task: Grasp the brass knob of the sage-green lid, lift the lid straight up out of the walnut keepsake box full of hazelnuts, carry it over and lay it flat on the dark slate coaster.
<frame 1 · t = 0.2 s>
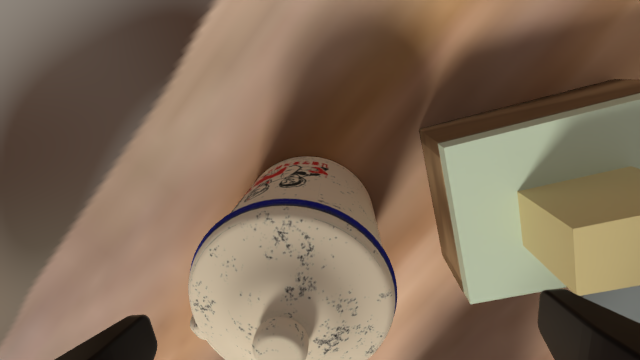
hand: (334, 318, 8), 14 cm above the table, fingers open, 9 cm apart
lid: (561, 200, 17), point 4 cm above the table, touching box
box: (519, 175, 21), on the table
teacup with lid: (293, 225, 23), on the table
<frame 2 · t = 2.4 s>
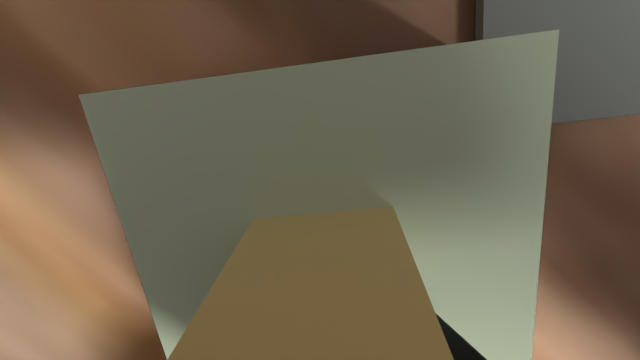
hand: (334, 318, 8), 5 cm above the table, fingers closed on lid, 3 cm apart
lid: (335, 284, 9), point 4 cm above the table, touching box, gripper
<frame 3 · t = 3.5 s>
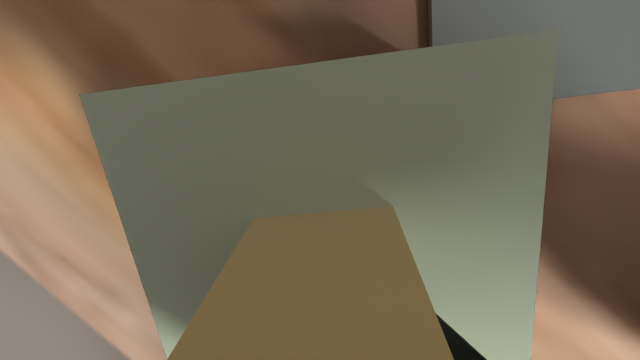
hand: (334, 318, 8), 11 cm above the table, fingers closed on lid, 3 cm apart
lid: (335, 284, 9), point 10 cm above the table, touching gripper
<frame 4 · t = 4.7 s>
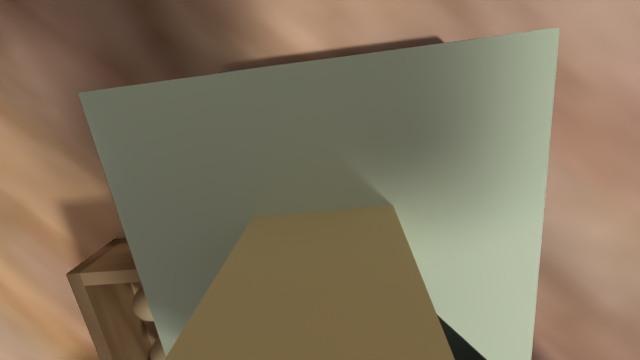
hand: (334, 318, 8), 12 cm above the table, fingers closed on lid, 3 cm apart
lid: (335, 283, 9), point 11 cm above the table, touching gripper
box: (197, 304, 23), on the table
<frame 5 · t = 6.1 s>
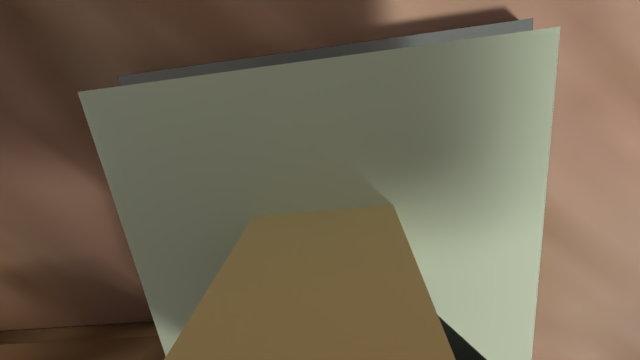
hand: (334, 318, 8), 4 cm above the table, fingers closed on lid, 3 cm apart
lid: (335, 283, 9), point 3 cm above the table, touching gripper
coaster: (335, 228, 12), on the table
when the fingers open (3 cm above the table, at t = 7.0 s): lid stays where it is, resting on coaster.
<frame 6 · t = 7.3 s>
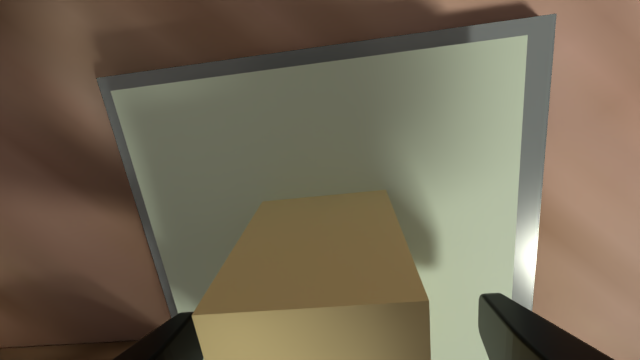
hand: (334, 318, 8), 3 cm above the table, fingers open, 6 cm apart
lid: (335, 263, 10), point 1 cm above the table, touching coaster
coaster: (336, 243, 11), on the table
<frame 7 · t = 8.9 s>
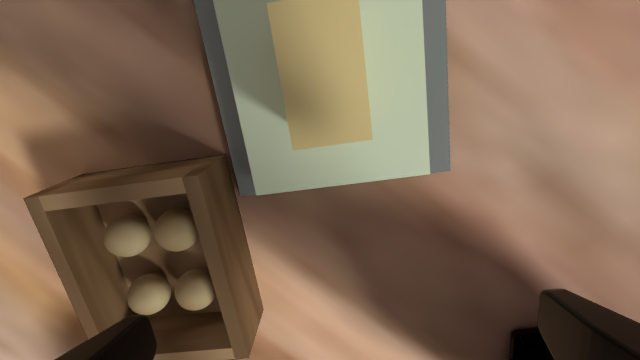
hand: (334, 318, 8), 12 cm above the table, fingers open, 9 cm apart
lid: (326, 73, 16), point 1 cm above the table, touching coaster
coaster: (327, 74, 17), on the table
box: (178, 245, 21), on the table
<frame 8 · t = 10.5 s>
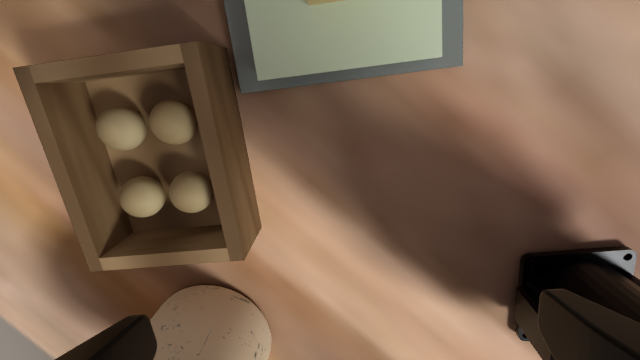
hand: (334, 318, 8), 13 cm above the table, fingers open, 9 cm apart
box: (175, 152, 20), on the table
teacup with lid: (226, 343, 25), on the table
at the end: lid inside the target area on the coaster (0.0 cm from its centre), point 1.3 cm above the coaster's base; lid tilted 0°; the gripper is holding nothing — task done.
